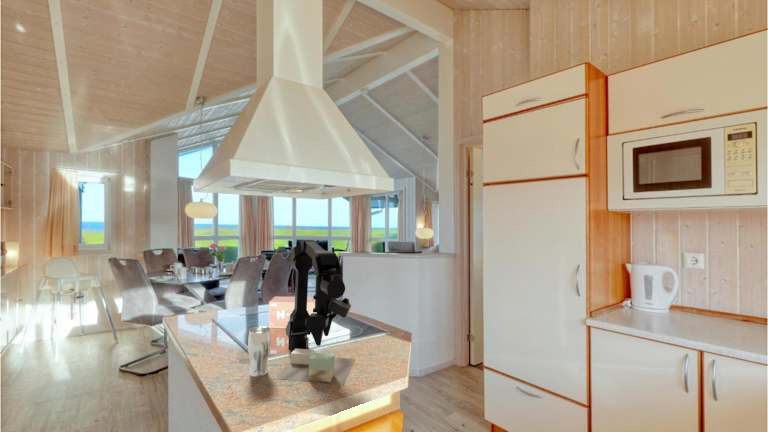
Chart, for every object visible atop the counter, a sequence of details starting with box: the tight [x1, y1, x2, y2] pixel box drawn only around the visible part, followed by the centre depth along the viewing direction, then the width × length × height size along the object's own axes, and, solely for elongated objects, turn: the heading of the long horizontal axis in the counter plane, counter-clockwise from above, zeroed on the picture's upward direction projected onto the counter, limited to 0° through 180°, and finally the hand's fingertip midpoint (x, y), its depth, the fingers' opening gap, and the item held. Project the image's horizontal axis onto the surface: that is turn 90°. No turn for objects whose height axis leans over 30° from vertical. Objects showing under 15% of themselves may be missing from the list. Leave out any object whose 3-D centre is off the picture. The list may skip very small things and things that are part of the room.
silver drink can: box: [247, 326, 272, 378], centre depth 116 cm, size 7×7×15 cm
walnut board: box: [274, 357, 356, 386], centre depth 120 cm, size 22×20×1 cm
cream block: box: [289, 348, 315, 365], centre depth 125 cm, size 7×4×4 cm, turn 84°
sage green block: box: [309, 352, 336, 371], centre depth 113 cm, size 7×4×4 cm, turn 84°
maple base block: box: [309, 366, 334, 382], centre depth 113 cm, size 7×4×4 cm, turn 84°
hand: (322, 340), depth 113 cm, fingers open, 9 cm apart
